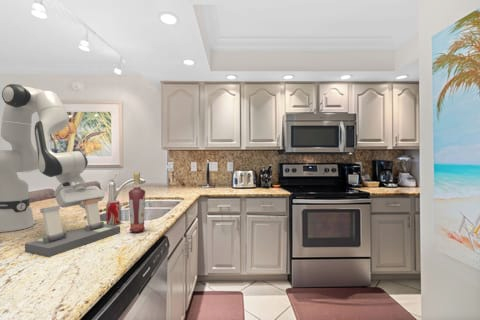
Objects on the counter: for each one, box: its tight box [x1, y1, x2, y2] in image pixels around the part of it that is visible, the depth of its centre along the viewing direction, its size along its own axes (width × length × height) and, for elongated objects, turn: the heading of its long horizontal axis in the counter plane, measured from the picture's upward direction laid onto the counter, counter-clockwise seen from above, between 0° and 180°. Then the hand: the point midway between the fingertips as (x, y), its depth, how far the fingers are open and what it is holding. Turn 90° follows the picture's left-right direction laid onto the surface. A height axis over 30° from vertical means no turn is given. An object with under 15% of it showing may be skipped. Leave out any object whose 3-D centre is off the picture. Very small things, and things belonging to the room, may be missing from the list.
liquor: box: [128, 171, 146, 234], centre depth 120 cm, size 7×7×28 cm
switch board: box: [24, 221, 121, 258], centre depth 106 cm, size 14×31×5 cm, turn 158°
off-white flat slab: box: [83, 199, 102, 230], centre depth 114 cm, size 2×6×13 cm, turn 158°
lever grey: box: [39, 204, 64, 241], centre depth 99 cm, size 2×6×13 cm, turn 158°
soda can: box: [105, 200, 122, 226], centre depth 134 cm, size 7×7×12 cm
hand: (90, 209), depth 115 cm, fingers closed, pressing on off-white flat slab
